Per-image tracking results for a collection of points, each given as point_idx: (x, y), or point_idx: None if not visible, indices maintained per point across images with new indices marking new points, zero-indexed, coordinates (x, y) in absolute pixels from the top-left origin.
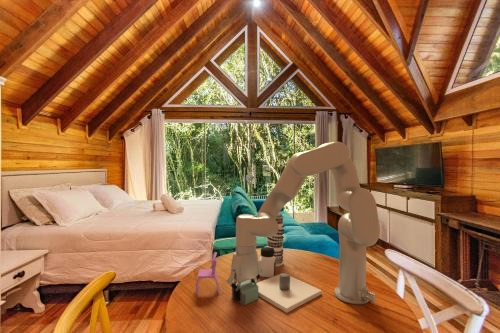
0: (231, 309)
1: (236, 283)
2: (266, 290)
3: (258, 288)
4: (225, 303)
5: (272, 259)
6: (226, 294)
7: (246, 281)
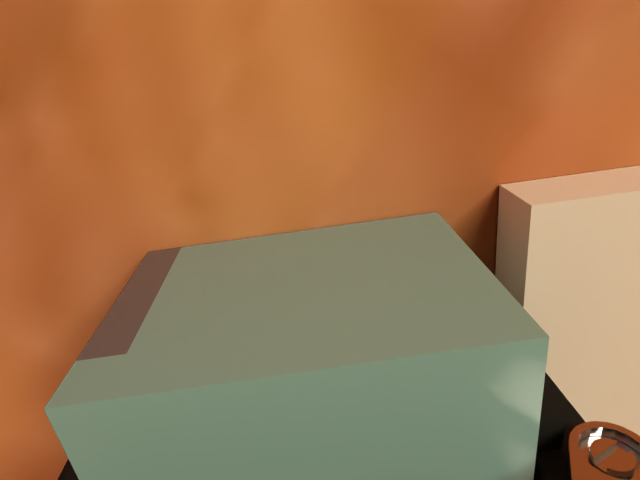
0: (47, 464)
1: (174, 429)
2: (627, 428)
3: (594, 342)
4: (6, 342)
5: None
6: (97, 126)
7: (450, 439)
